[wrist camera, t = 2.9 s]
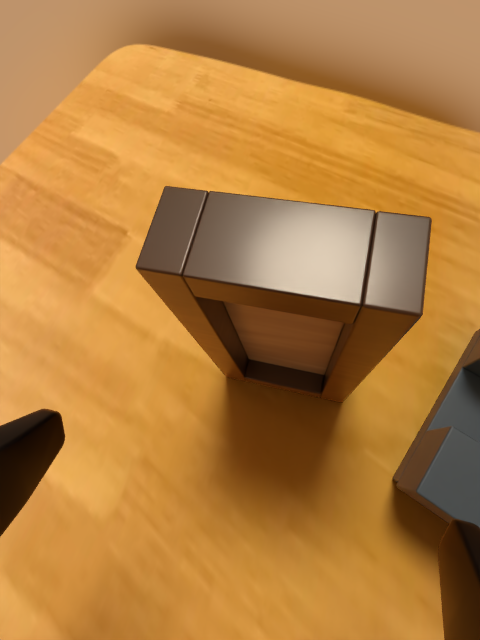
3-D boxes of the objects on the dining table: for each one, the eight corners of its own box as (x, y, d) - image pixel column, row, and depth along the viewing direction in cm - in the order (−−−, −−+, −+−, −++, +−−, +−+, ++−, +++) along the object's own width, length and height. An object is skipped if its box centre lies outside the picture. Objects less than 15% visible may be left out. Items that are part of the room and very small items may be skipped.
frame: (342, 403, 20) (423, 316, 7) (226, 377, 21) (133, 267, 9) (349, 359, 20) (433, 216, 8) (236, 337, 22) (164, 184, 9)
